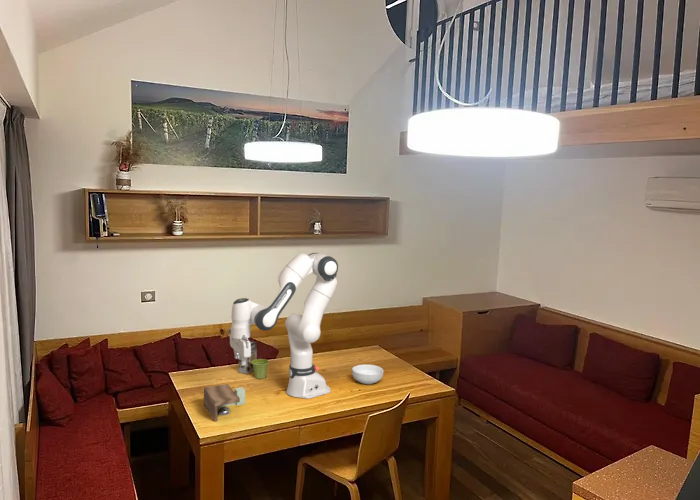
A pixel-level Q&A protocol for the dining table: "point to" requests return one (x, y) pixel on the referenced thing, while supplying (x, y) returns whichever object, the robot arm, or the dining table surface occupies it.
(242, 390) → the sage paddle
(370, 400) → the dining table surface
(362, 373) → the cereal bowl
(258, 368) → the plant pot
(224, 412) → the steel puck
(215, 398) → the walnut shelf
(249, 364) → the coffee box
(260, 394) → the dining table surface
